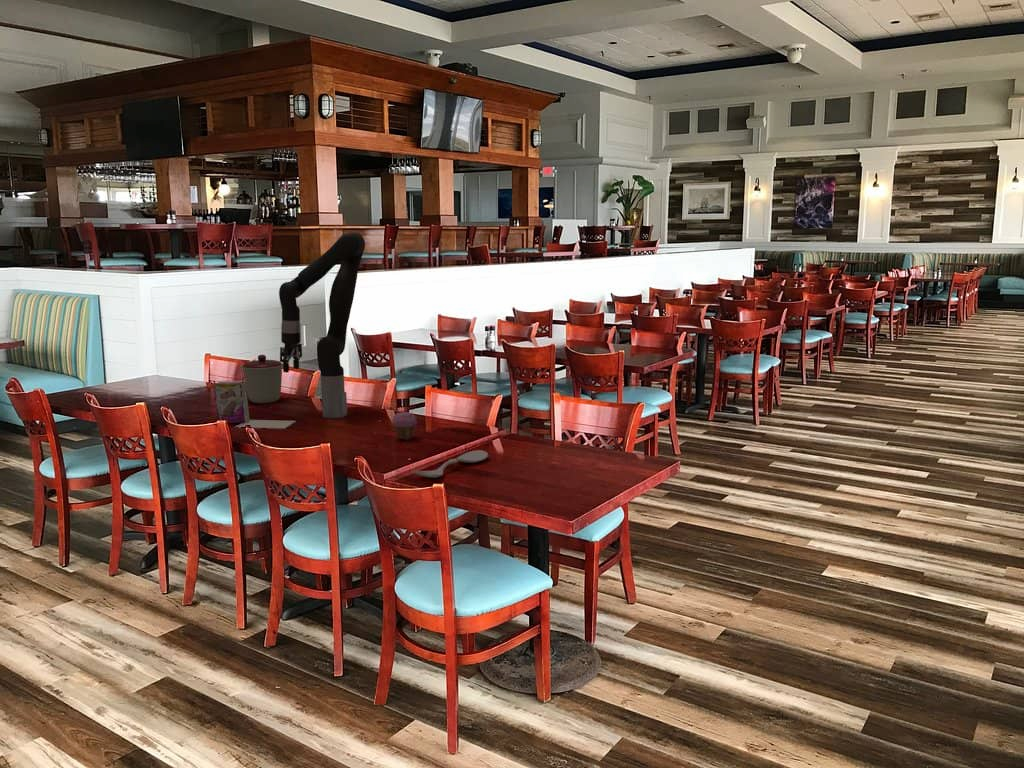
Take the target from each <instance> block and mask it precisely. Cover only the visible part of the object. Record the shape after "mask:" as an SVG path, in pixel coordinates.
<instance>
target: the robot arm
mask: <svg viewBox="0 0 1024 768" xmlns="http://www.w3.org/2000/svg"><path fill="white" fill-rule="evenodd" d="M365 242H366V241H365V238H364V237H363V236H362V235H361V234H360V233H358V232H345V233H343V234H341V235H340V237H339V238H338V239H337V240H336V241H335V242H334V243H333V245H332V246H331V247H329V248H328V249H327V250H326V251H325V252H324V253H323V254H322V255H320V256H319V257H318V258H317V259H315V260H314V261H313V262H311V263H310V264H309V265H306V267H304V268H303V269H302V270H300V272H299V273H298V274H297V276H295V277H294V278H293V279H291V280H290V281H286V282H283V283H282V284H280V287H279V290H278V296H279V302H280V303H279V304H280V307H281V324H280V326H281V327H280V329H281V334H280V335H281V336H280V338H281V343H282V344H284V347H282V346H280V347H279V362H281V363H283V366H282V373H289V372H290V364H289V363H290V360H291V359H293V361H292V363H293V370H299V369H300V359H301V358H303V345H302V343H301V341H302V339H301V337H302V335H301V333H302V332H301V327H302V326H301V311H300V307H299V306H298V305H297V304H298V303H297V298H299V297H301V296H302V295H303V294H305V292H306V291H307V290H308V289H309V288H310V287H312V286H313V285H314V284H316V283H318V282H319V281H320V280H321V279H322V278H324V277H325V276H326V275H327V274H328V273H329V272H330V271H331V270H332V269H333V268H334V267H335V266H336V265H338V264H339V263H340V266H339V269H338V271H337V273H336V276H335V277H334V280H333V282H332V284H331V288H330V293H329V299H328V310H329V312H328V313H329V325H328V330H327V334H326V336H324V337H323V336H322V337H321V338H320V339H319V340H318V342H317V346H316V353H317V365H318V366H317V367H318V369H319V372H320V386H321V387H320V390H321V391H320V392H321V405H322V406H321V407H322V410H321V411H322V417H323V418H325V419H338V418H340V419H341V418H344V417H346V416H347V415H348V402H347V401H348V400H347V399H348V398H347V396H348V395H347V392H346V391H345V374H344V373H345V370H344V367H343V366H342V365H341V357H340V356H341V355H343V353H344V352H345V348H346V342H347V341H346V339H347V329H348V323H349V320H350V314H351V311H352V306H353V302H354V298H355V291H356V285H357V280H358V273H359V268H360V265H361V261H362V258H363V254H364V252H365V248H366V243H365Z"/></svg>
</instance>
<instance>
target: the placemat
mask: <svg viewBox="0 0 1024 768" xmlns="http://www.w3.org/2000/svg"><path fill="white" fill-rule="evenodd" d="M296 423H297V421H296V420H275V419H274V420H273V419H272V420H271V419H269V420H268V419H267V420H266V419H250V420H249V421H248V422H246V423H238V425H235V426H234V428H235V429H242V428H241V427H245V426H246V425H250V426H251V427H253V428H252V429H261V428H267V430H268V429H269V430H270V429H271V430H285V429H287V428H288V427H290V426H292V425H293V424H296ZM236 427H238V428H236ZM261 430H262V429H261Z"/></svg>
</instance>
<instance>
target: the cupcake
mask: <svg viewBox="0 0 1024 768" xmlns="http://www.w3.org/2000/svg"><path fill="white" fill-rule="evenodd" d="M417 422H418V419H417V417H416V416H415V415H414V414H413V413H411V412H409V411H403V412H396V414H394V415H393V418H392V425H393V427H394V429H395V432H396V435H397V438H398V439H399V440H404V441H406V440H407V441H408V440H411V439H412V438H414V435H415V428H416V427H415V426H416V425H418V423H417Z"/></svg>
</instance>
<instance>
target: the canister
mask: <svg viewBox="0 0 1024 768" xmlns="http://www.w3.org/2000/svg"><path fill="white" fill-rule="evenodd" d="M240 367H241V369H242V371H243V379H244V381H246V391H247V399H248V400H249V401H250V402H251V403H254V404H270V403H275V402H277V401H278V400H279V399H280V398H281V395H282V392H281V391H282V380H283V378H282V377H283V363H282V362H280V360H276V359H275V360H274V359H267V356H266V355H265V354H259V355H258V356H257V360H249V361H247V362H245V363H243V364H242V365H241V366H240Z"/></svg>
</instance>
